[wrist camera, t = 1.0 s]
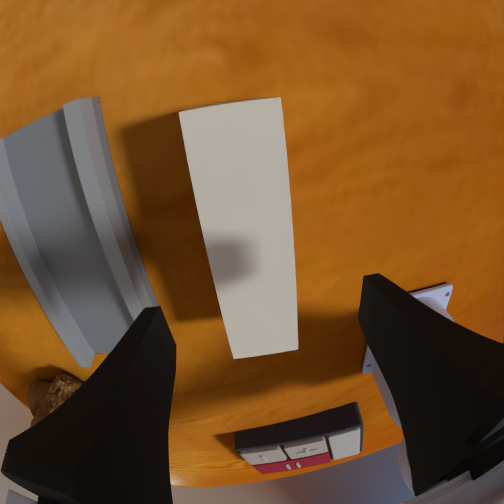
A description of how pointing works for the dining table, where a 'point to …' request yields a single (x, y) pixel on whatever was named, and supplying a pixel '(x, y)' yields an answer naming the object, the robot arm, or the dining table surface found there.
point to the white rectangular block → (246, 219)
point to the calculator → (303, 440)
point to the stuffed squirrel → (50, 395)
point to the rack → (73, 228)
